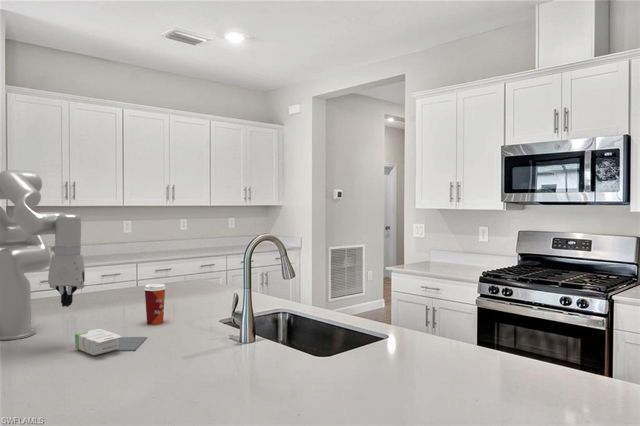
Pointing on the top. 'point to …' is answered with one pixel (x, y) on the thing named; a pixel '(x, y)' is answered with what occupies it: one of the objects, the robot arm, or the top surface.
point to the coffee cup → (154, 303)
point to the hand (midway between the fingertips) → (66, 305)
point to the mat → (129, 343)
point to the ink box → (96, 341)
